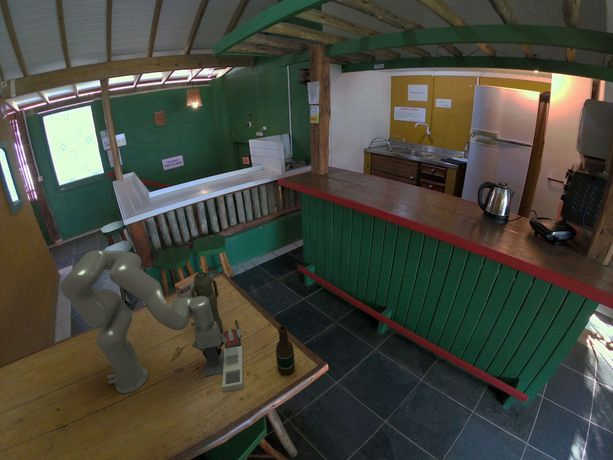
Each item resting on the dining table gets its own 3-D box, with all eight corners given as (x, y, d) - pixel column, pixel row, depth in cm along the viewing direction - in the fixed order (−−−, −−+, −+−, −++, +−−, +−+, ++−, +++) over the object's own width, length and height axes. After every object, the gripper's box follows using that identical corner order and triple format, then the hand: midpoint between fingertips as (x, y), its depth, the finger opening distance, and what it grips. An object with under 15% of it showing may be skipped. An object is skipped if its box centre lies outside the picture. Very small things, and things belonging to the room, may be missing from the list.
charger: (207, 362, 136) (203, 348, 133) (208, 353, 141) (204, 340, 137) (219, 360, 137) (215, 346, 133) (219, 351, 142) (216, 338, 138)
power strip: (223, 391, 129) (220, 378, 125) (225, 353, 146) (222, 341, 142) (243, 388, 130) (240, 375, 126) (242, 350, 147) (240, 338, 144)
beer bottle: (275, 365, 139) (270, 324, 128) (291, 359, 142) (288, 318, 131) (281, 379, 133) (276, 337, 122) (298, 372, 135) (295, 331, 124)
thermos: (229, 329, 160) (217, 272, 144) (209, 343, 152) (195, 285, 136) (218, 321, 165) (206, 266, 149) (199, 335, 157) (184, 277, 141)
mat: (204, 377, 135) (204, 376, 135) (206, 355, 146) (206, 354, 145) (223, 373, 136) (223, 372, 136) (224, 352, 147) (224, 351, 147)
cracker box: (188, 320, 167) (179, 288, 157) (182, 315, 170) (173, 283, 161) (210, 306, 176) (203, 275, 167) (204, 301, 180) (197, 271, 170)
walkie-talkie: (245, 349, 148) (238, 321, 165) (244, 342, 146) (237, 314, 163) (227, 355, 146) (221, 326, 162) (225, 348, 144) (220, 319, 160)
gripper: (182, 333, 125) (191, 365, 134) (225, 326, 128) (232, 357, 136) (185, 320, 132) (194, 351, 140) (226, 314, 134) (232, 344, 143)
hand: (212, 354), depth 138 cm, fingers closed on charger, 5 cm apart
